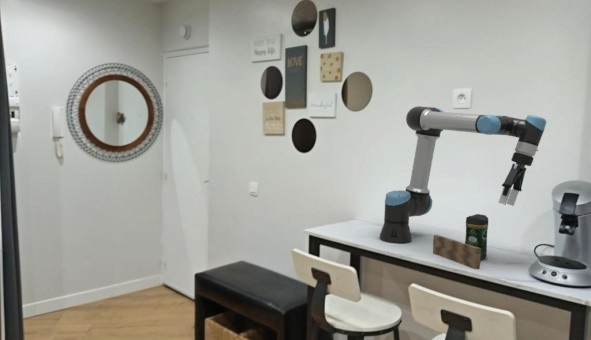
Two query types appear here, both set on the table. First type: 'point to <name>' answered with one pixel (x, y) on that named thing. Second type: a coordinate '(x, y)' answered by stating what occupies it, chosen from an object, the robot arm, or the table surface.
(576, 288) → the table surface
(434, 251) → the board
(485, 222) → the coffee jar
